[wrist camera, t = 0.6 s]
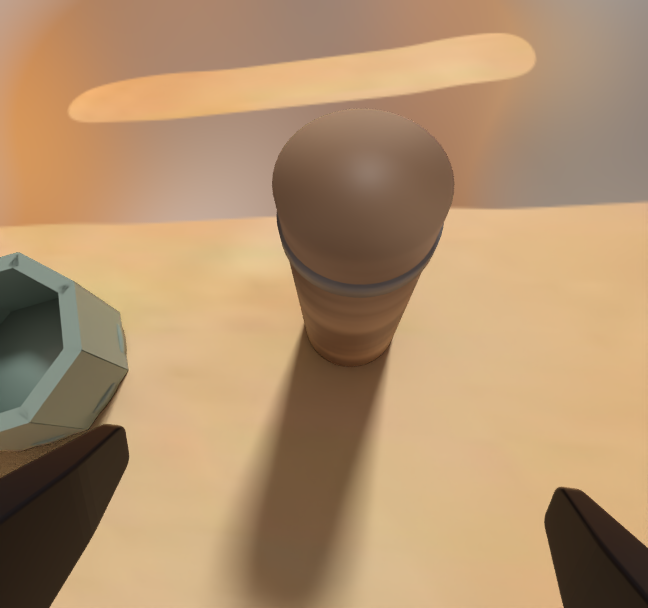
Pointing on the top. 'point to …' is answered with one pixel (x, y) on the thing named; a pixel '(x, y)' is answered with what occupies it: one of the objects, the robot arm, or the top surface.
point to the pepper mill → (359, 224)
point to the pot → (53, 355)
